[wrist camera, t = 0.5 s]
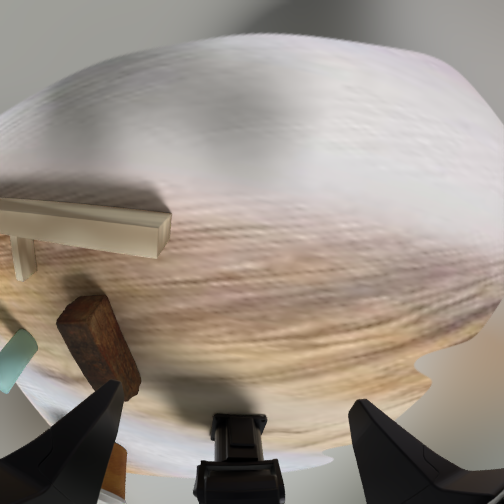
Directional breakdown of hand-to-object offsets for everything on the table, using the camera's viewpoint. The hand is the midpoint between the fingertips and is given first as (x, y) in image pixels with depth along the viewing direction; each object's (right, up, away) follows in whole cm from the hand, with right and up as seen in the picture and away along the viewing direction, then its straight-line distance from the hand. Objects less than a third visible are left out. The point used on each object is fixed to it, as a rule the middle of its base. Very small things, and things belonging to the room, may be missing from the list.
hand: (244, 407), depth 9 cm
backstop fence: (-17, +7, +11) cm, 21 cm away
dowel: (-27, -5, +15) cm, 31 cm away
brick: (-14, -3, +15) cm, 21 cm away
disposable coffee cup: (-24, -27, +23) cm, 43 cm away
